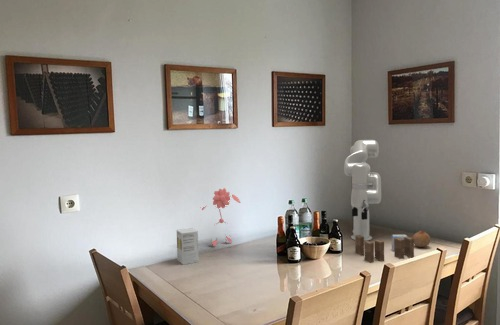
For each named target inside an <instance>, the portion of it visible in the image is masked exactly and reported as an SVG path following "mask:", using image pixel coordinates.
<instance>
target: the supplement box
mask: <svg viewBox="0 0 500 325" xmlns="http://www.w3.org/2000/svg"><path fill="white" fill-rule="evenodd" d="M176 251H177V252H176V256H177V259H176V260H177V261H178V262H179V263H180V264H182V265H187V264H193V263H199V262H200V261H199V260H200V259H199V232H198V230H196V229H194V228H193V227H190V228H182V229H177V230H176Z"/></svg>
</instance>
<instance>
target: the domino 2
mask: <svg viewBox="0 0 500 325" xmlns="http://www.w3.org/2000/svg"><path fill="white" fill-rule="evenodd" d="M364 261H366V262H368V263H369V264H370V263H375V242H373V241H371V240H368V241H364Z"/></svg>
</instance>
